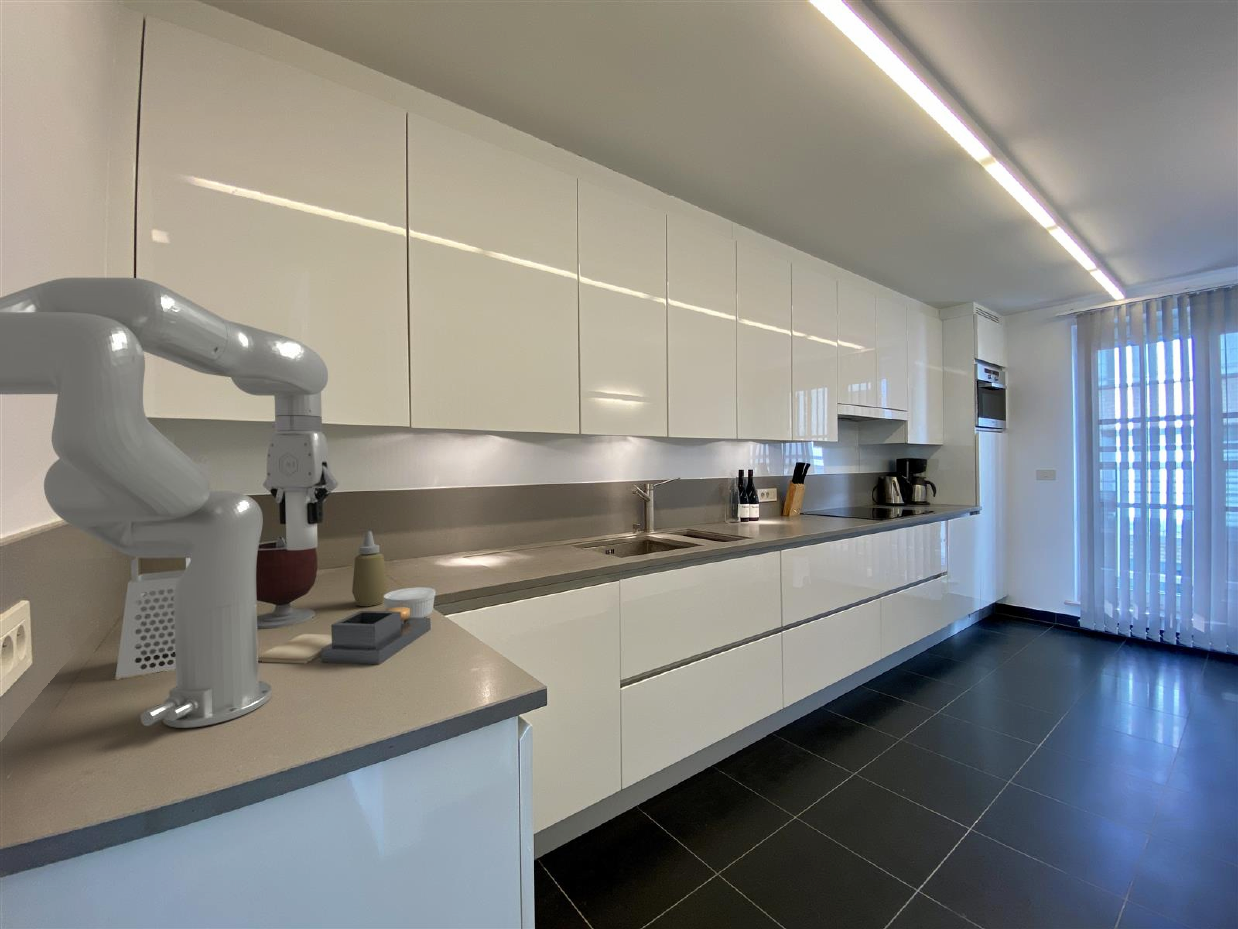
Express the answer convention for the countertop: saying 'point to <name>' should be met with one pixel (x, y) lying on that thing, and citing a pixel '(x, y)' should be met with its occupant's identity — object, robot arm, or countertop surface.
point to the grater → (148, 621)
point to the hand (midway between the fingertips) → (301, 522)
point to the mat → (297, 649)
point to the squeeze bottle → (369, 574)
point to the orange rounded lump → (404, 612)
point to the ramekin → (412, 600)
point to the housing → (372, 637)
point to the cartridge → (298, 520)
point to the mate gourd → (284, 582)
